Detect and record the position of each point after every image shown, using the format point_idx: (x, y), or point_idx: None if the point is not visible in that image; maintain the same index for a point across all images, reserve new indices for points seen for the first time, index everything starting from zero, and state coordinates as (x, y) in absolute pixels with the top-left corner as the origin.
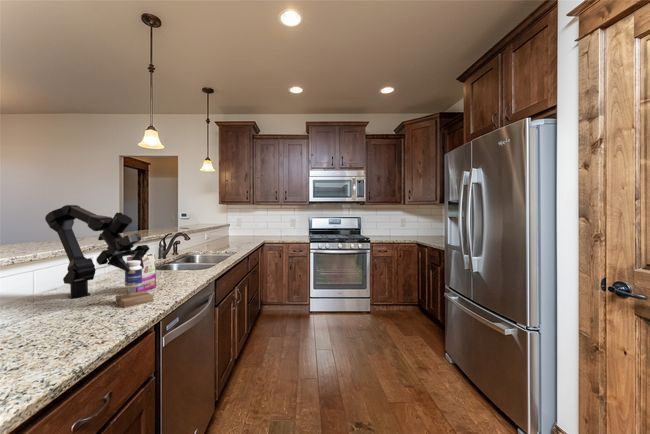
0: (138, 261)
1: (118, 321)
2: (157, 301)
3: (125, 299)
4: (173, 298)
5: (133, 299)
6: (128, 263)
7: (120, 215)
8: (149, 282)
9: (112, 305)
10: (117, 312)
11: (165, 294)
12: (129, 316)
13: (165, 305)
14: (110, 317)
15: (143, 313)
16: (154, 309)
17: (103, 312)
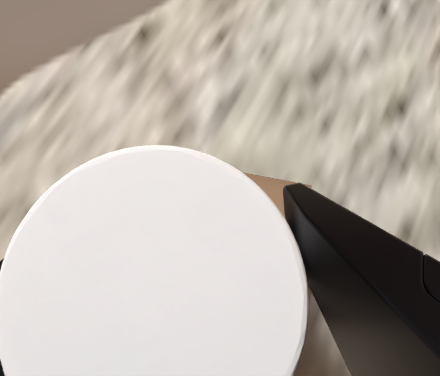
0: (96, 178)
1: (414, 6)
2: (136, 134)
3: (285, 219)
4: (55, 103)
5: (254, 175)
6: (295, 254)
7: None
8: None
9: (314, 310)
10: (358, 144)
11: (14, 232)
12: (353, 28)
13: (163, 27)
14: (413, 96)
15: (294, 9)
16: (231, 18)
17: (401, 215)
